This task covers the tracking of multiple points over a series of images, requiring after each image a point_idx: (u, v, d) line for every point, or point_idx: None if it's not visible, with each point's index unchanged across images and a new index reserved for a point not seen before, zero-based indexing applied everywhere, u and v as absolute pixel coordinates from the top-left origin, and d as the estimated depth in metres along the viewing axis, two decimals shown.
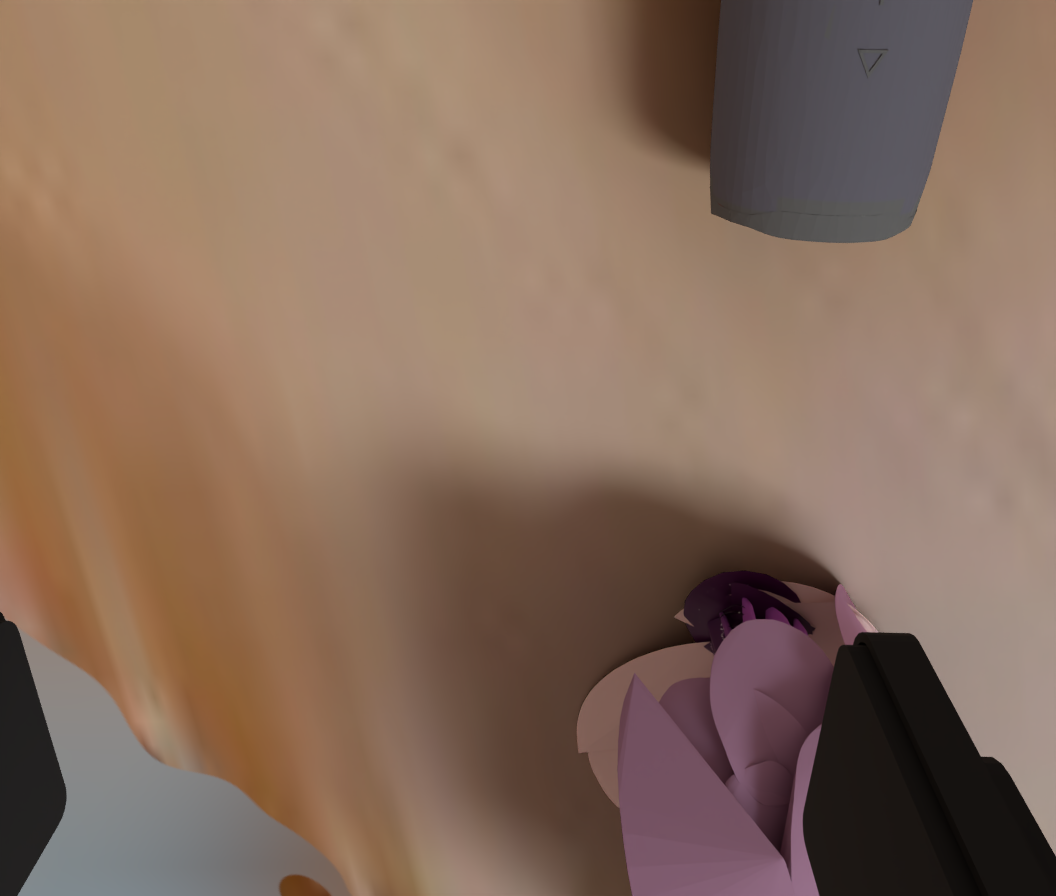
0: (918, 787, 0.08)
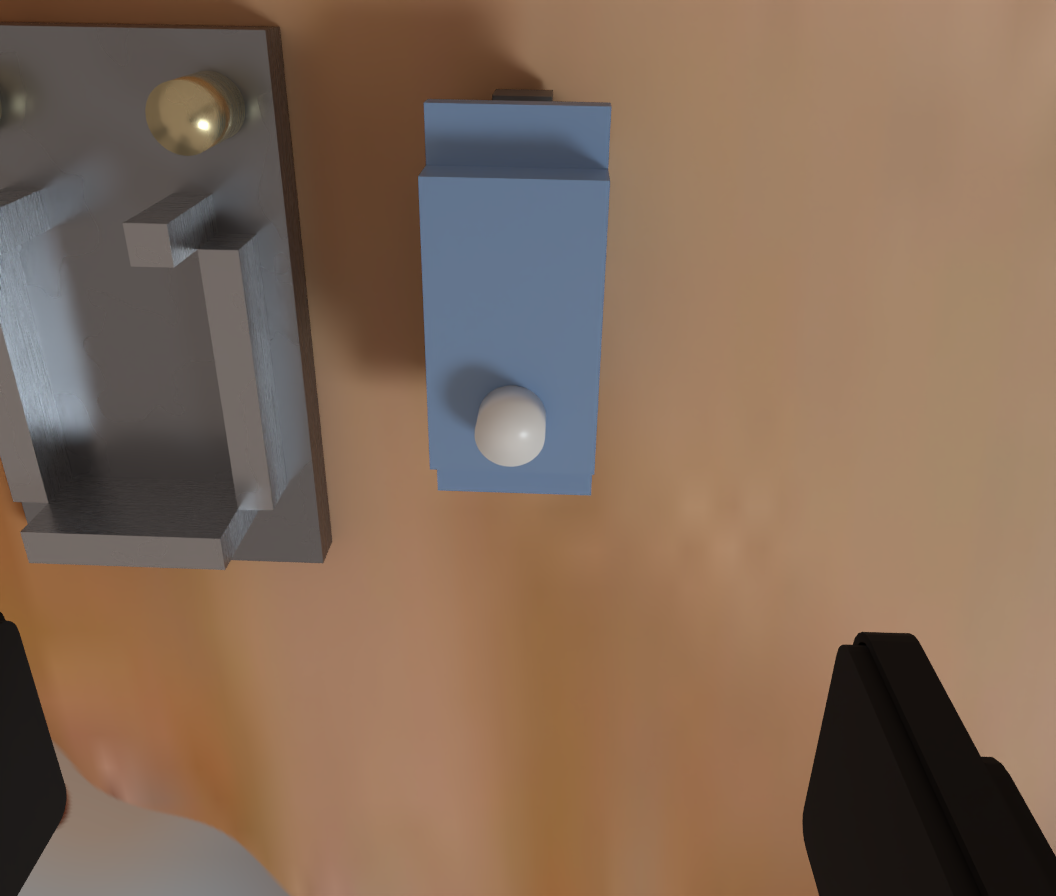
0: (918, 787, 0.08)
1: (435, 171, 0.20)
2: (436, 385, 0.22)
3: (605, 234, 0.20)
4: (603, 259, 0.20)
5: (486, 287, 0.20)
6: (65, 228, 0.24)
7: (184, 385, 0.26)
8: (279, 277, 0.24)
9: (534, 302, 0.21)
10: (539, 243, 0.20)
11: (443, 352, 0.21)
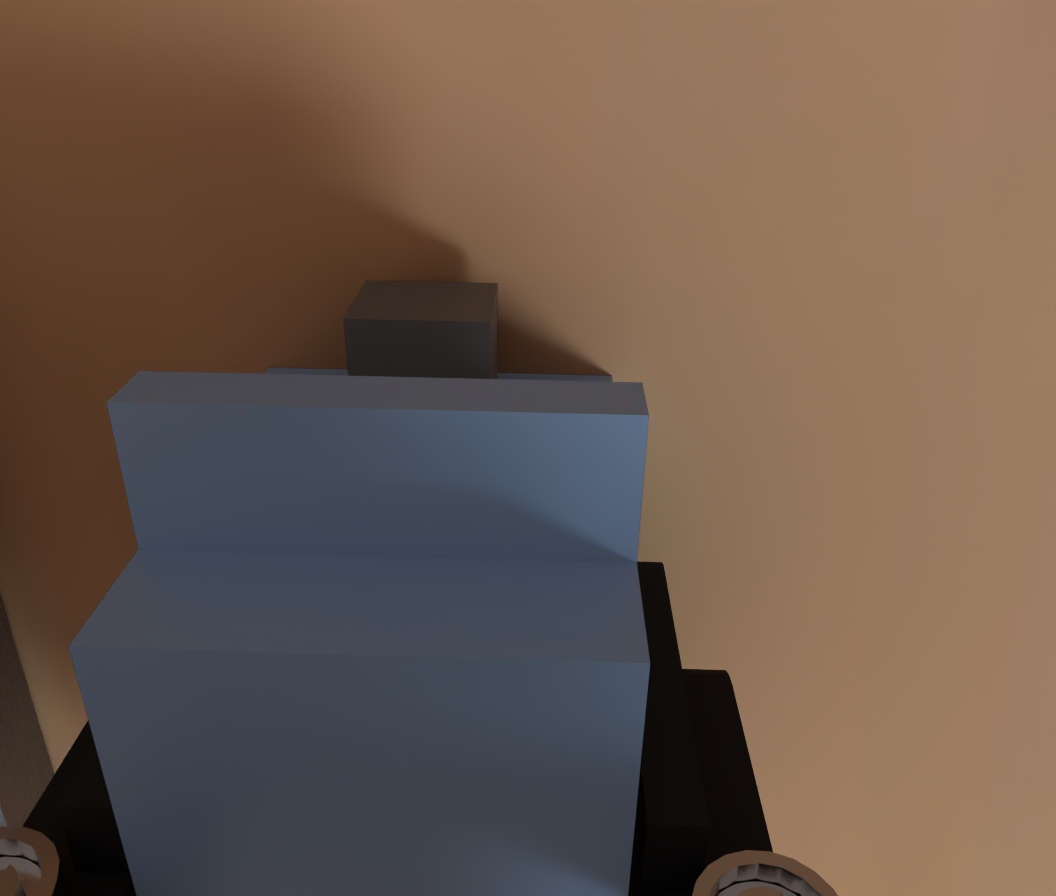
0: None
1: (144, 594, 0.07)
2: None
3: (634, 781, 0.07)
4: (627, 834, 0.07)
5: (306, 882, 0.07)
6: None
7: None
8: None
9: None
10: (445, 798, 0.07)
11: None
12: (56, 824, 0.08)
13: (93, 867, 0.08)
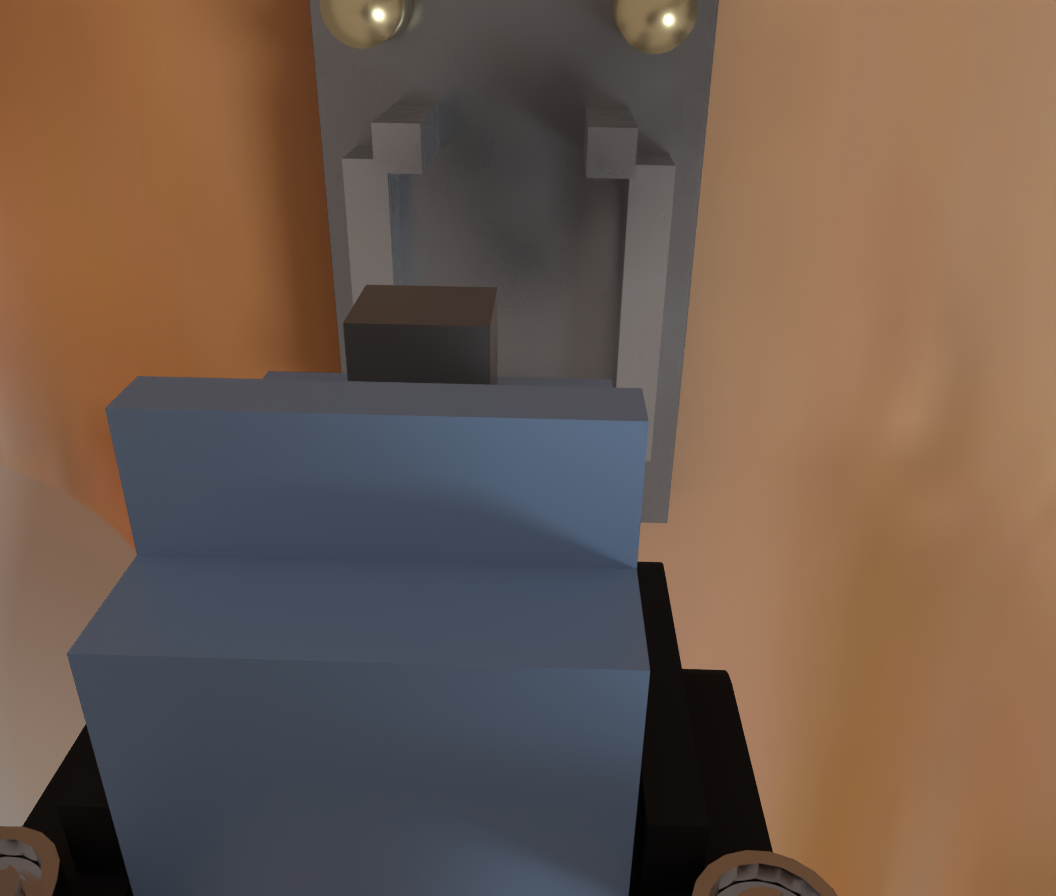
0: None
1: (143, 601, 0.07)
2: None
3: (634, 788, 0.07)
4: (627, 841, 0.07)
5: (305, 888, 0.07)
6: (457, 147, 0.22)
7: (554, 324, 0.24)
8: (684, 202, 0.22)
9: None
10: (444, 804, 0.07)
11: None
12: (56, 824, 0.08)
13: (93, 867, 0.08)
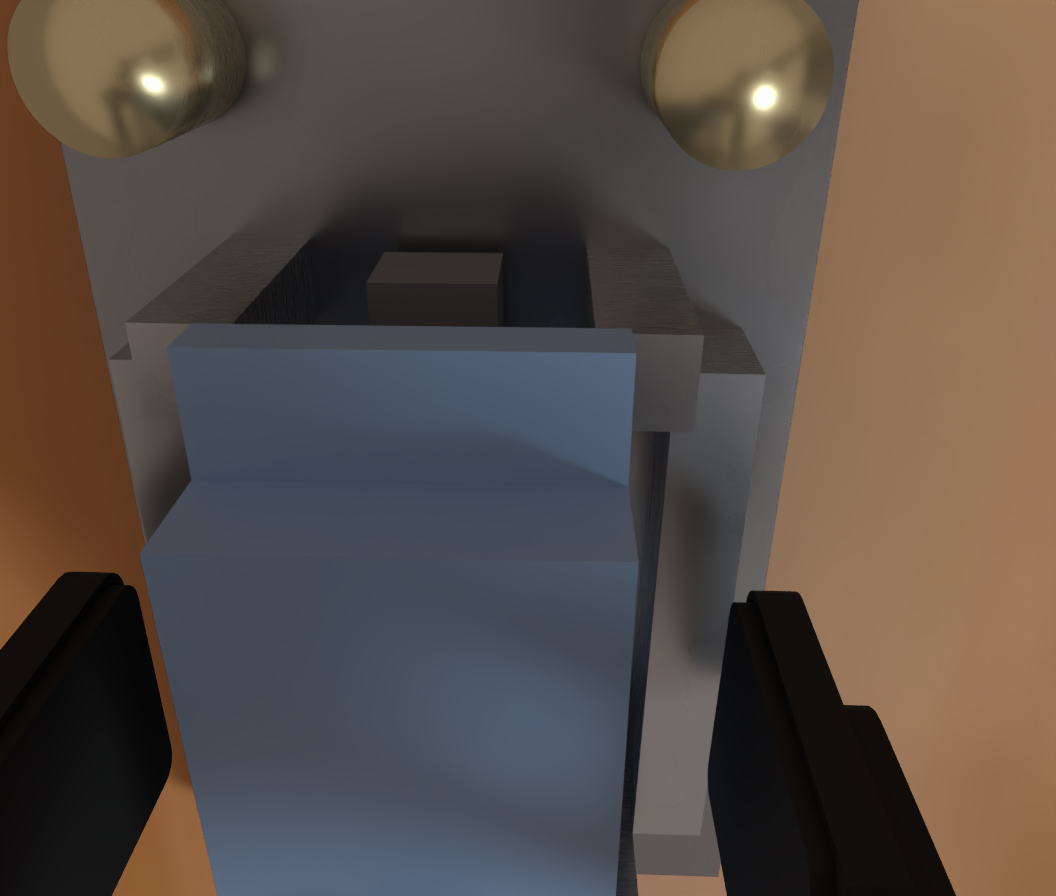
0: (781, 725, 0.09)
1: (201, 515, 0.08)
2: None
3: (627, 671, 0.08)
4: (622, 721, 0.08)
5: (341, 771, 0.09)
6: (347, 317, 0.12)
7: None
8: (766, 410, 0.12)
9: (458, 798, 0.09)
10: (463, 689, 0.08)
11: (256, 883, 0.09)
12: None
13: None
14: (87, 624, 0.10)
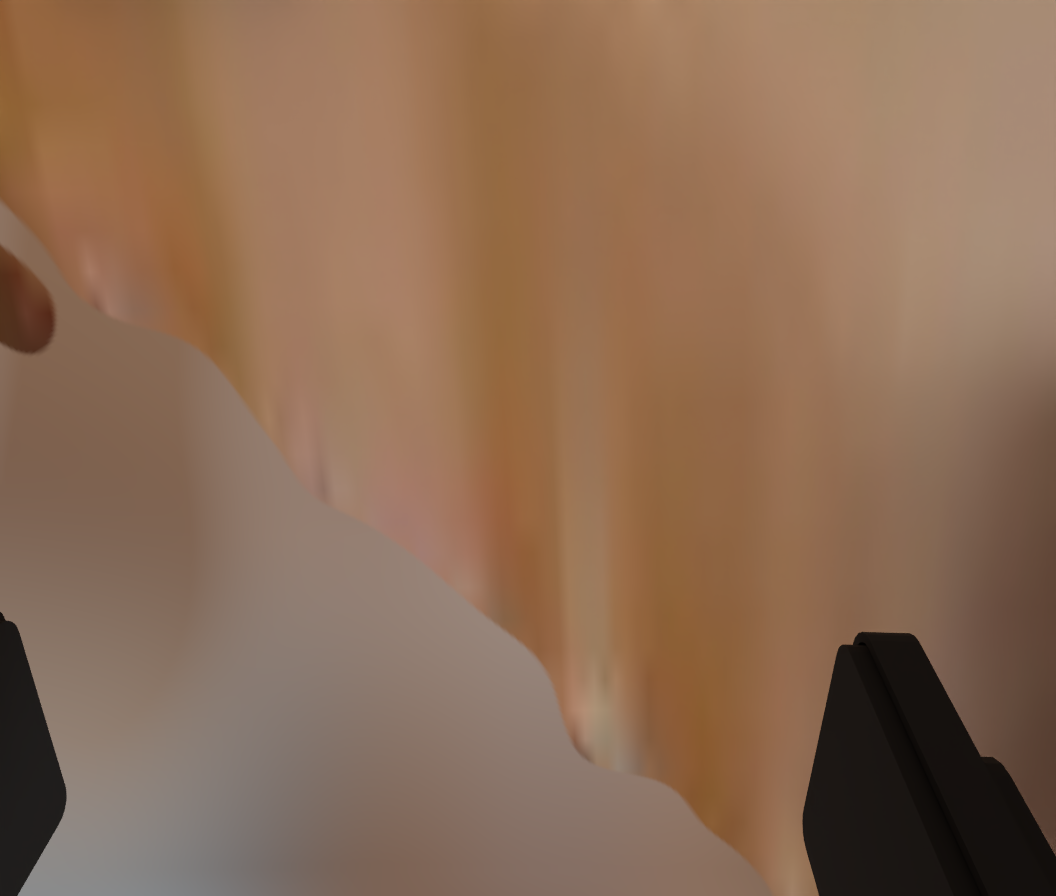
0: (918, 787, 0.08)
1: None
2: None
3: None
4: None
5: None
6: None
7: None
8: None
9: None
10: None
11: None
12: None
13: None
14: None
